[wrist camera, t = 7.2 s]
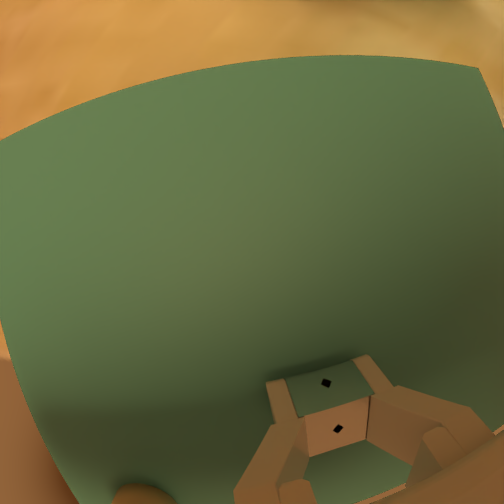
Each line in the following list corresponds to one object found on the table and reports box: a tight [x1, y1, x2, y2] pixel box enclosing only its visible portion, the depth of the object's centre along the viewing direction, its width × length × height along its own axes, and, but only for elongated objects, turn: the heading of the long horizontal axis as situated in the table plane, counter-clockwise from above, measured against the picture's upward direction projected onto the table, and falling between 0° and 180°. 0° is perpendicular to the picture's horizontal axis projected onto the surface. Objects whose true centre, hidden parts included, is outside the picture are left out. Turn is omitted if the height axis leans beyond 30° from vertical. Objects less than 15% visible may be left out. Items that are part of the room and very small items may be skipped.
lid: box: [0, 55, 504, 504], centre depth 9 cm, size 20×16×2 cm
